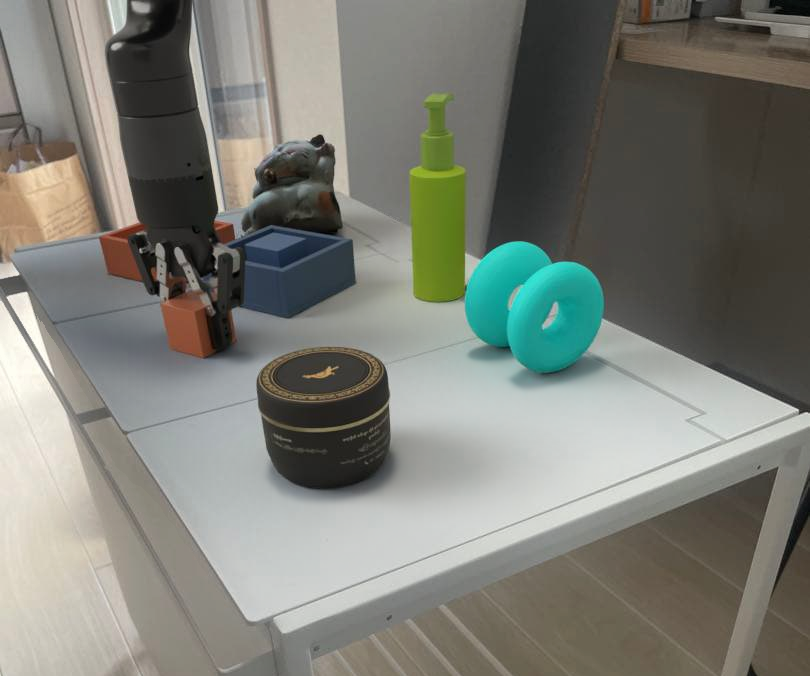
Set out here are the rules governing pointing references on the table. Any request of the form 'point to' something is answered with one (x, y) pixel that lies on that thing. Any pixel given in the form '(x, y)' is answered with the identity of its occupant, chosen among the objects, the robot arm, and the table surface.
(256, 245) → the blue block
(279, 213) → the lucky cat figurine
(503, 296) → the donuts
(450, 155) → the soap dispenser
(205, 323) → the terracotta block
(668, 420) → the table surface
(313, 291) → the blue bin
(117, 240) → the terracotta bin
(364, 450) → the jar
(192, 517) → the table surface
